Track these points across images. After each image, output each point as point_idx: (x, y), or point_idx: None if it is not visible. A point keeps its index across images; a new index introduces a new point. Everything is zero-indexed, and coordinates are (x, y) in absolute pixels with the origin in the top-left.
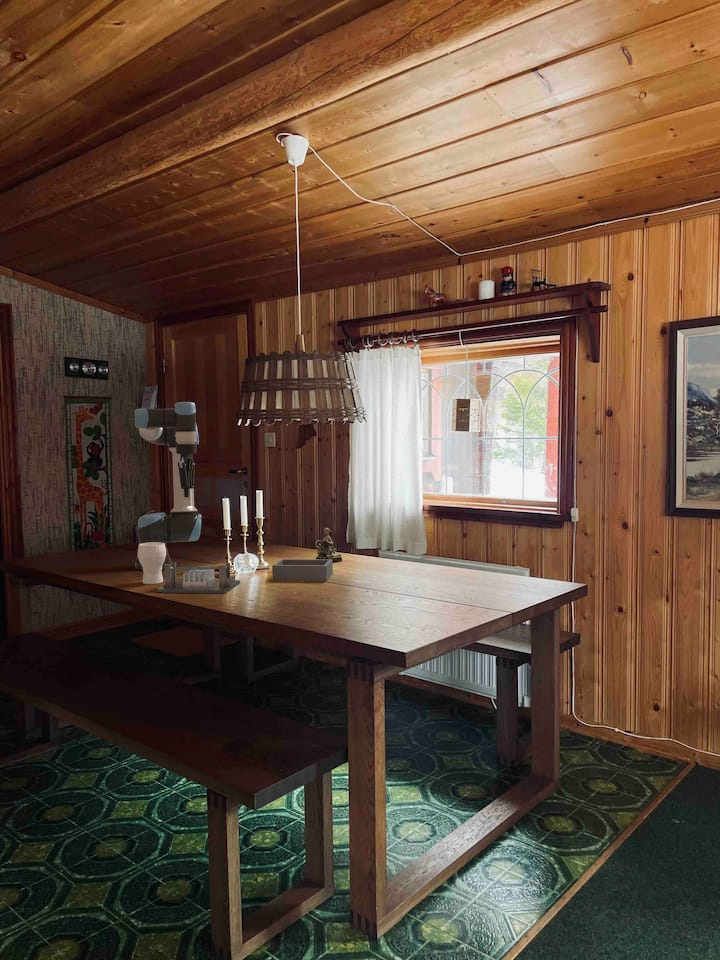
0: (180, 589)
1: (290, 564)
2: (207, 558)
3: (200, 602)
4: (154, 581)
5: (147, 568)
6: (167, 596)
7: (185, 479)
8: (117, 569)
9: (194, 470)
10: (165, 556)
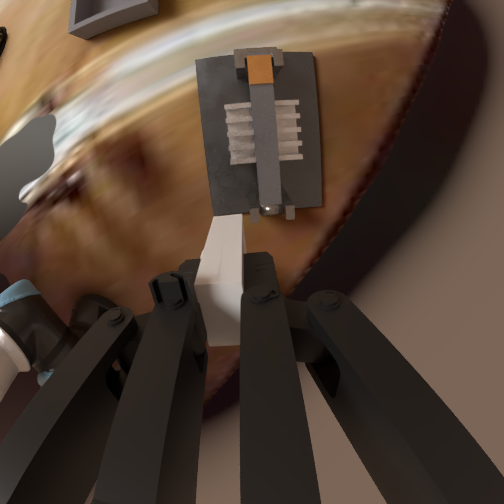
0: (319, 152)
1: (80, 14)
2: (15, 266)
3: (388, 84)
4: None
5: None
6: (351, 165)
7: (400, 366)
8: None
9: (3, 451)
10: None
